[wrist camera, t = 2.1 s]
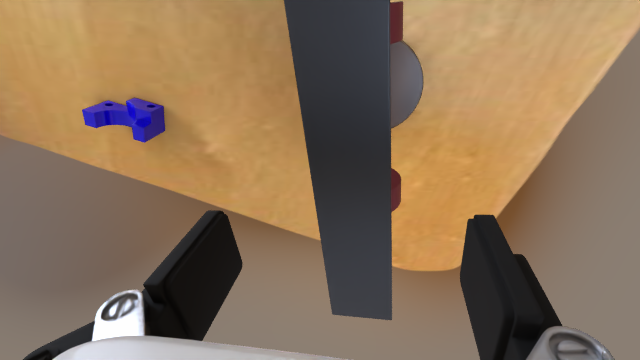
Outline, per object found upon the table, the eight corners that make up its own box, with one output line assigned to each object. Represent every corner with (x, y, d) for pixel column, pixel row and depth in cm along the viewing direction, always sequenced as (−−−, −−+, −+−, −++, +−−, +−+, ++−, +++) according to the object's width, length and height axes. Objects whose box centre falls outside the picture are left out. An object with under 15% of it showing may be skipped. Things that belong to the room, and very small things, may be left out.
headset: (401, -20, 21) (417, -43, 9) (399, 192, 30) (406, 322, 18) (328, -8, 22) (258, -16, 10) (346, 192, 31) (319, 313, 19)
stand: (424, 27, 29) (472, 66, 12) (420, 126, 34) (450, 252, 17) (322, 38, 31) (243, 85, 14) (332, 130, 36) (281, 245, 19)
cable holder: (163, 106, 39) (141, 116, 36) (165, 130, 41) (144, 142, 38) (106, 89, 39) (79, 97, 36) (110, 114, 41) (85, 124, 38)
